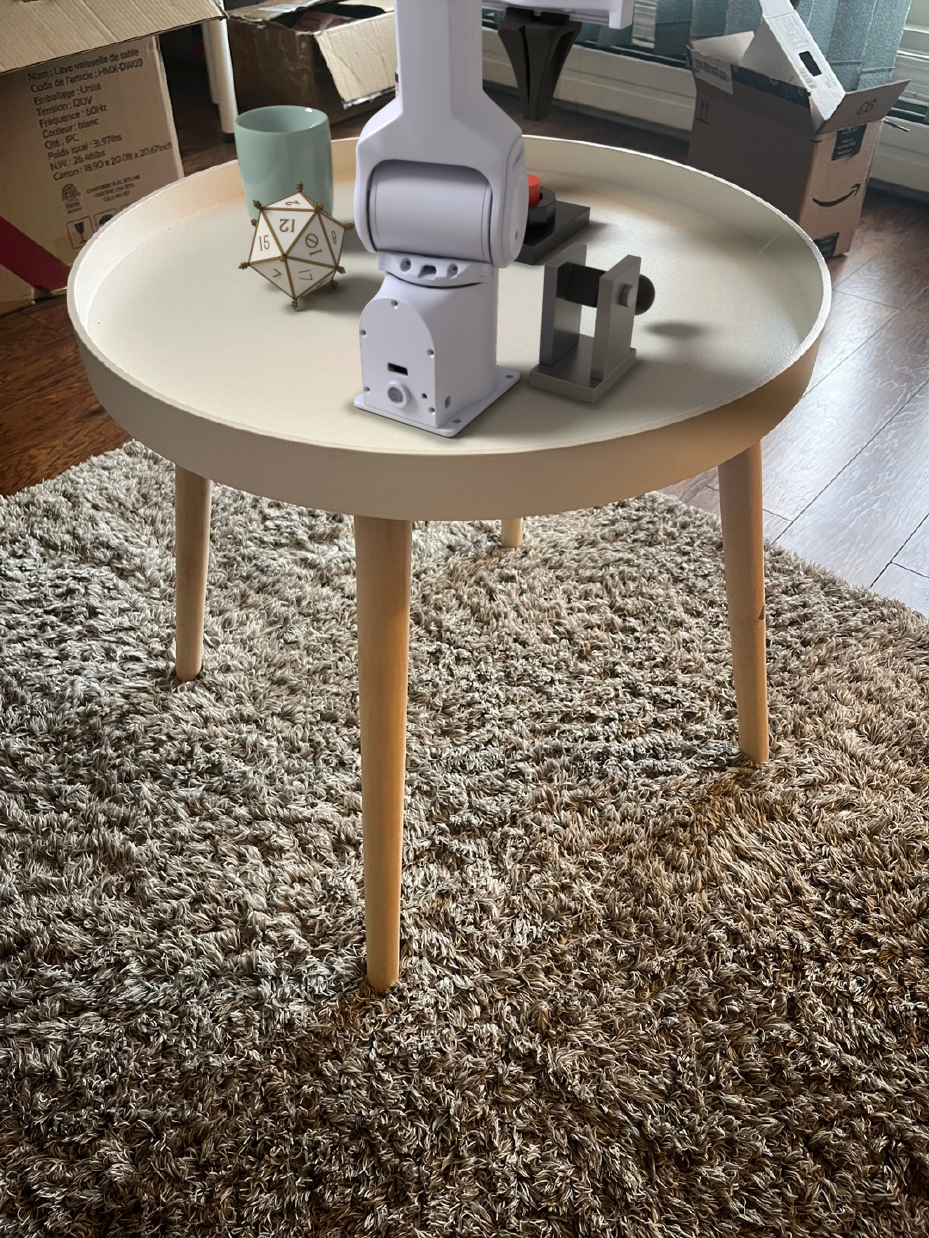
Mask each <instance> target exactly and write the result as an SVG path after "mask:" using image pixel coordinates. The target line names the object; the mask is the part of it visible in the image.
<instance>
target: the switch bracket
mask: <svg viewBox="0 0 929 1238" xmlns="http://www.w3.org/2000/svg"><path fill="white" fill-rule="evenodd" d="M587 251H588V244H585V243H579V242H577V241H576V242H572V243H571V244H570V245H568V246H567V247H565V248H564V249H563V250H562V251H560V252H559V253H557V254H556V255H555V256H553V257H552V258H550V259H549V260H548V261H547V262H545V263H544V267H543V283H542V284H543V285H542V301H541V315H540V316H541V317H540V319H541V320H540V335H539V350H538V351H539V353H538V363H537V364H536V365H535V366H534V367H533V368H532V369H531V370H529V384H528V385H529V386H531V387H534V388H538V389H540V390H545V391H548V392H551V393H555V394H558V395H561V396H565V397H568V398H571V399H575V400H578V401H581V402H585V403H589V404H591V405H592V404H593V405H594V404H595V403H596V402H597V401H598V400H599V399H600V398H601V397H602V396H603V395H604V394H605V393H606V392H607V391H609V389H610V388H612V386H613V385H615V383H617V381H618V380H619V379H620V378H621V377H622V376H623V375H624V374H625V373H627V371H629V369H631V367H633V365H634V364H635V363H636V357H637V348H635V347H632V338H633V331H634V330H633V329H634V323H635V322H634V321H635V316H634V315H635V307H636V299H637V291H638V283H639V275H640V274H641V267H642V257H641V256H637V255H633V254H627V255H626V256H624V257H623V258H622V259H621V260H619V261H618V262H617V263H616V264H614V265H613V266H612V267H610V268H609V269H608V270H606V271H607V272H606V273H605V274H603V275H602V276H601V277H600V281H599V291H598V301H597V308H596V311H595V312H596V313H595V324H594V333H593V336H590V335H587V334H583V333H581V322H582V310H583V305H581V304H577V303H573V302H569V301H565V300H564V299H565V295H566V291H567V286H568V282H569V278H570V274H571V270H572V266H573V263H575V264H579V265H584V266H587V265H586V264H587V263H586V262H587V254H588V253H587Z"/></svg>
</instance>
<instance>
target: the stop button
mask: <svg viewBox="0 0 929 1238" xmlns="http://www.w3.org/2000/svg"><path fill="white" fill-rule="evenodd" d="M527 176H528V184H529V201H528V204H531V203H536V202H538V201H539V199H540V186H541V179H540V178H539V177H538V176H536V175H535V174H530V173H527Z"/></svg>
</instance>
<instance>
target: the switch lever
mask: <svg viewBox="0 0 929 1238" xmlns="http://www.w3.org/2000/svg"><path fill="white" fill-rule="evenodd" d="M607 271H608V270H604V269H600V268H596V267H592V266H589V265H585V266H584V265H579V264H575V263H573V266H572V270H571V274H570V278H569V282H568V286H567V291H566V295H565V299H564V300H565V301H569V302H573V303H577V304H581V305H582V306H584V307H588V308H592V309H597V301H598V291H599V281H600V277H601V276H602V275H603V274H605V273H606V272H607ZM655 299H656V288H655V285H654V283H653V282H652V280H651V279H650V278H649V277H648V276H646V275H645V274H641V273H640V275H639V283H638V291H637V299H636V307H635V315H634V317H636V316H641V315H643V314H646V312H648V311H649V310H650V309H651V308H652V306H653V304H654V302H655Z"/></svg>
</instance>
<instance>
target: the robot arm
mask: <svg viewBox="0 0 929 1238" xmlns="http://www.w3.org/2000/svg"><path fill="white" fill-rule="evenodd" d="M634 5H635V0H393V12H394V15H393V16H394V29H395V47H396V61H397V62H396V63H397V67H398V80H399V96H397V97H396V96H395V98H394V99H392V100H391V101H389V102H388V103H387V104H386V105H385V106H383V107H382V108H380V110H379V111H377V112H376V113H375V114H374V115H372V117H370V119H369V120H368V121H367V122H366V123H365V125H364V126H363V128H362V130H361V133H360V135H359V137H358V140H357V143H356V144H355V167H356V168H355V172H356V173H355V182H354V190H353V218H354V224H355V226H354V227H355V230H356V233H357V235H358V237H359V239H360V241H361V242H362V245H363V247H364V249H366V251H367V252H368V253H371V254H373V255H374V254H375V255H376V264H377V265H376V267H377V270H378V271H383V272H385V273H384V279H383V280H382V283H381V286H380V289H378V291H377V292H376V294H375V295H374V296H373V297H372V298H371V300H370V301H369V302H368V303H367V304H366V305H365V307H364V308H363V309H362V312H361V314H360V317H359V321H358V340H359V341H358V342H359V354H360V355H359V356H360V366H361V367H360V368H361V381H362V392H361V393H359V394H358V395H357V396H355V397H354V398H353V405H354V407H356V408H359V409H362V410H365V411H367V412H370V413H373V414H375V415H380V416H382V417H385V418H389V419H392V420H395V421H396V422H397V421H398V422H400V423H404V424H407V425H409V426H413V427H416V428H419V429H421V430H425V431H427V432H431V433H434V434H438V435H440V436H442V437H446V438H452V437H454V436H456V435H457V434H458V433H459V432H461V431H462V430H463V429H464V428H465V427H466V426H467V425H468V424H470V423H471V422H472V421H473V420H475V419H476V418H477V417H478V416H479V415H480V414H481V413H482V412H484V411H485V410H486V409H487V408H488V407H490V406H491V405H492V404H493V403H494V402H495V401H497V400H498V399H499V398H500V397H501V396H502V395H503V394H505V393H506V392H507V391H508V390H509V389H510V388H512V387H513V386H514V385H515V384H516V383H517V382H519V381H520V379H521V374H520V372H519V371H517V370H513V369H511V368H508V367H503V366H501V365H497V357H498V354H497V353H498V323H499V322H498V319H499V318H498V317H499V283H500V282H499V281H500V269H507V268H508V267H509V266H510V265H511V264H512V263H513V262H515V261H514V260H515V259H516V258H517V256H518V254H519V252H520V249H521V246H522V243H523V239H524V234H525V228H526V222H527V214H528V201H529V184H528V176H527V174H528V173H527V170H526V157H525V156H526V155H525V154H526V153H525V152H526V151H525V140H524V139H523V130H522V128H521V127H520V125H518V123H517V122H516V121H514V119H512V117H510V115H508V114H507V112H505V111H504V110H503V109H502V108H501V107H500V106H499V105H498V104H497V103H496V102H495V101H494V100H493V99H492V98H490V97H489V95H488V94H487V93H486V92H485V90H484V89H483V9H486V10H492V11H493V10H494V11H499V12H505V15H504V16H503V20H502V21H498V23H497V24H496V25H497V26H496V27H497V35H498V37H499V39H500V42H501V43H502V45H503V47H504V50H505V52H506V53H507V57H508V59H509V62H510V64H511V68H512V72H513V75H514V78H515V82H516V86H517V91H518V96H519V100H520V106H521V112H522V118H523V119H524V120H527V121H533V122H540V121H541V120H543V119H545V118H547V117H549V115H550V111H551V107H552V102H553V98H554V95H555V91H556V88H557V85H558V82H559V78H560V76H561V73H562V71H563V67H564V66H565V63H566V60H567V58H568V56H569V54H570V52H571V50H572V48H573V46H574V44H575V42H576V40H577V38H578V37H579V34H580V33H581V31H582V29H583V24H584V23H588V24H594V25H601V26H608V28H609V29H615V30H623V29H625V28H628V27H629V26H632V25H633V15H634V7H635V6H634Z"/></svg>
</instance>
